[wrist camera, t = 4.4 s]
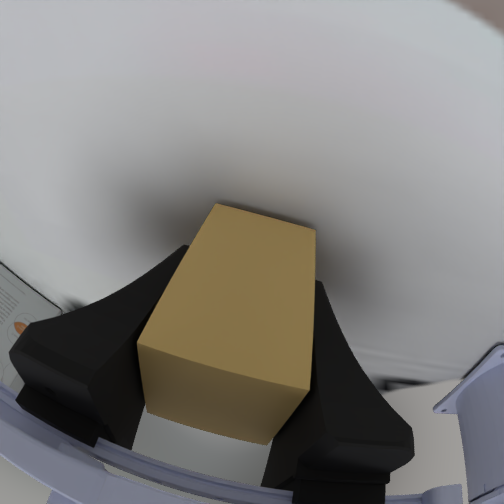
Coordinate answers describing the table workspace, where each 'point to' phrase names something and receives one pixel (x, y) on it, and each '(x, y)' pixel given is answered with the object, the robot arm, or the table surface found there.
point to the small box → (17, 320)
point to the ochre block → (234, 328)
